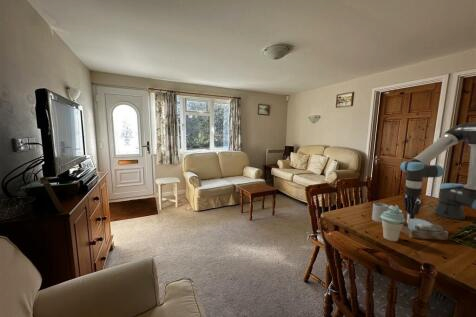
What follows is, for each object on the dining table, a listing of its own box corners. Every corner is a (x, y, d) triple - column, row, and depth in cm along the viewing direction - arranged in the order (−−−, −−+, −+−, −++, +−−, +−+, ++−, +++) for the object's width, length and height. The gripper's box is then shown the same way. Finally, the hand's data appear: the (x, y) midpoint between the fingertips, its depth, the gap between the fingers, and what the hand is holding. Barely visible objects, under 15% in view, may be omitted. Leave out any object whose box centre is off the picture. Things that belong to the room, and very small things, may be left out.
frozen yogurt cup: (381, 231, 119) (384, 199, 116) (405, 239, 110) (409, 204, 108) (375, 237, 113) (378, 203, 110) (400, 246, 104) (404, 209, 102)
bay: (416, 221, 132) (418, 210, 131) (448, 240, 109) (450, 227, 108) (387, 220, 134) (388, 209, 133) (412, 238, 111) (413, 225, 110)
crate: (422, 230, 121) (423, 219, 120) (433, 237, 113) (434, 225, 112) (407, 229, 122) (408, 218, 121) (417, 236, 114) (418, 224, 113)
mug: (384, 224, 129) (385, 207, 127) (369, 219, 136) (370, 204, 134) (391, 219, 136) (392, 204, 134) (377, 215, 143) (378, 200, 141)
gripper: (399, 184, 130) (396, 218, 133) (414, 190, 117) (411, 228, 120) (412, 184, 129) (408, 219, 132) (428, 190, 116) (424, 228, 119)
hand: (409, 223), depth 126 cm, fingers closed
